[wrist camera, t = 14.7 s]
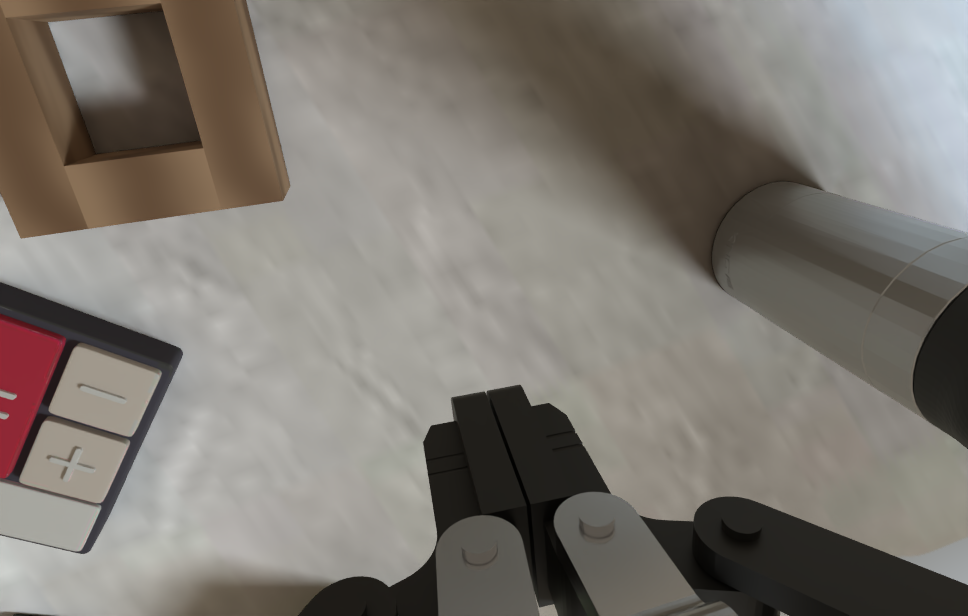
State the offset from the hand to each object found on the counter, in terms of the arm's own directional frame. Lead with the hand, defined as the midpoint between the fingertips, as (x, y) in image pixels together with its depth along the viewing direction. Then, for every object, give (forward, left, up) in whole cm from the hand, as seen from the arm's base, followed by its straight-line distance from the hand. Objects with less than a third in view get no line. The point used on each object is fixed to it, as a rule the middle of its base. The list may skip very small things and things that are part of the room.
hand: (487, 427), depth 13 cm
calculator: (+24, +11, -27) cm, 38 cm away
